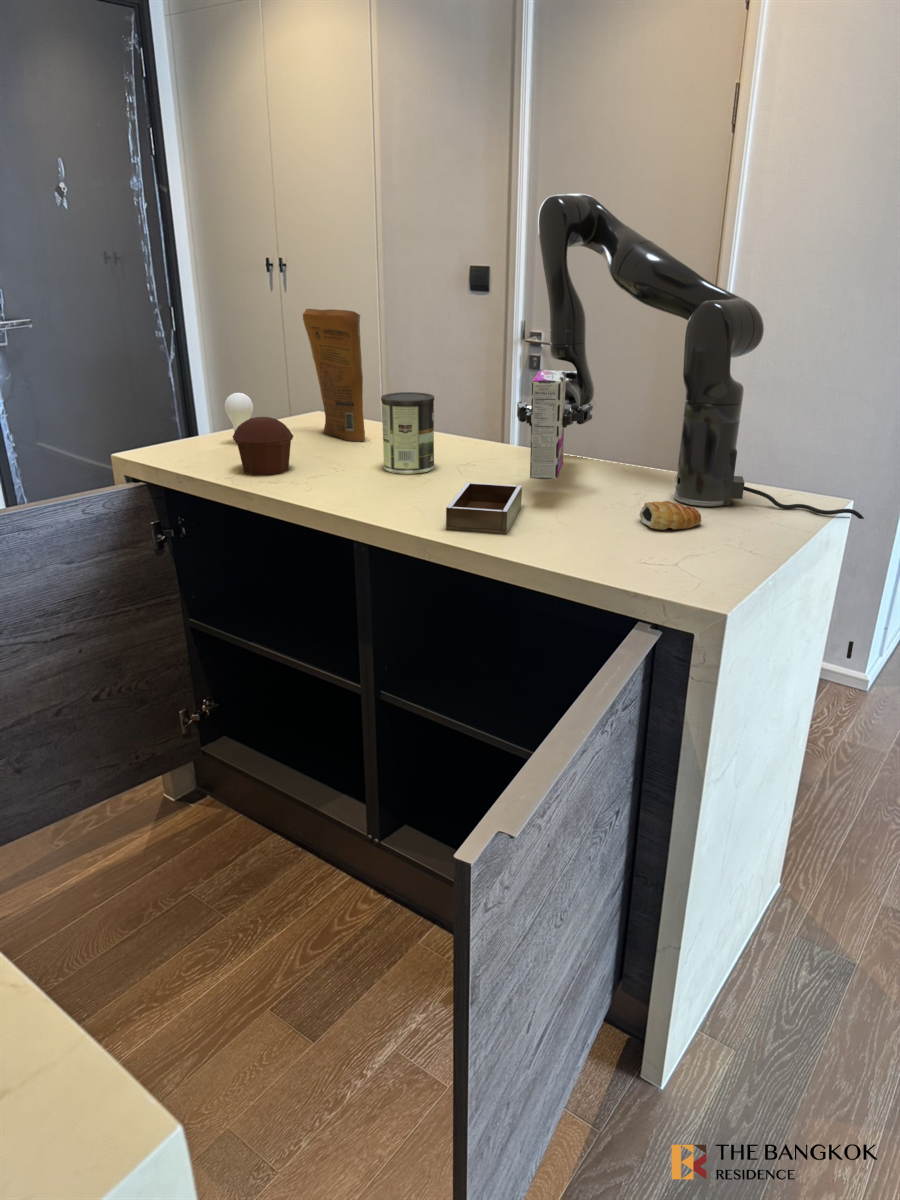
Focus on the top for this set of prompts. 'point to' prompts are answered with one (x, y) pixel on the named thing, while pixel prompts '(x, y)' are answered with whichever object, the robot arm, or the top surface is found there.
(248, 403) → the lightbulb
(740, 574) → the top surface
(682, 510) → the pastry
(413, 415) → the coffee can
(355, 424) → the pancake mix bag
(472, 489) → the open box
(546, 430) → the candy bar box
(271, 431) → the muffin
